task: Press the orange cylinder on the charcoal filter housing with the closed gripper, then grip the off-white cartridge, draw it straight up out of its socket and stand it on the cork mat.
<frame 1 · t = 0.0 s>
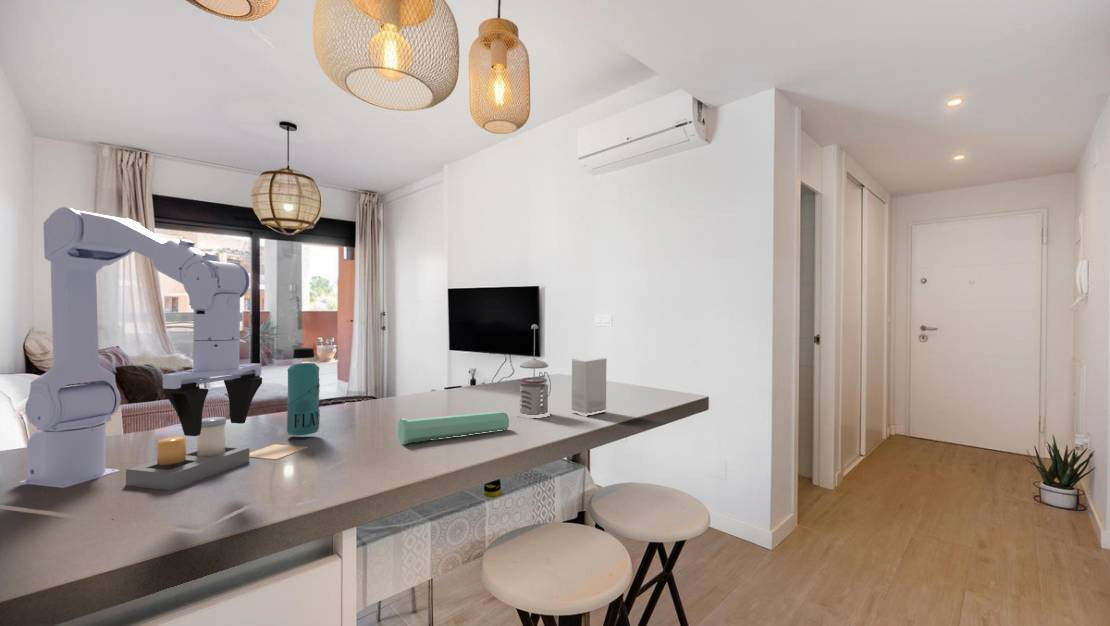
hand: (216, 428, 71), 10 cm above the table, tool pointing down, fingers open, 7 cm apart
cartridge: (211, 465, 83), resting on housing
orange cylinder: (171, 450, 76), point 5 cm above the table, slide at 0.0 cm
skincare box: (588, 414, 131), on the table
container: (457, 438, 106), on the table
beverage bottle: (303, 439, 102), on the table
housing: (192, 475, 79), on the table
french press: (535, 416, 128), on the table
mat: (275, 454, 91), on the table
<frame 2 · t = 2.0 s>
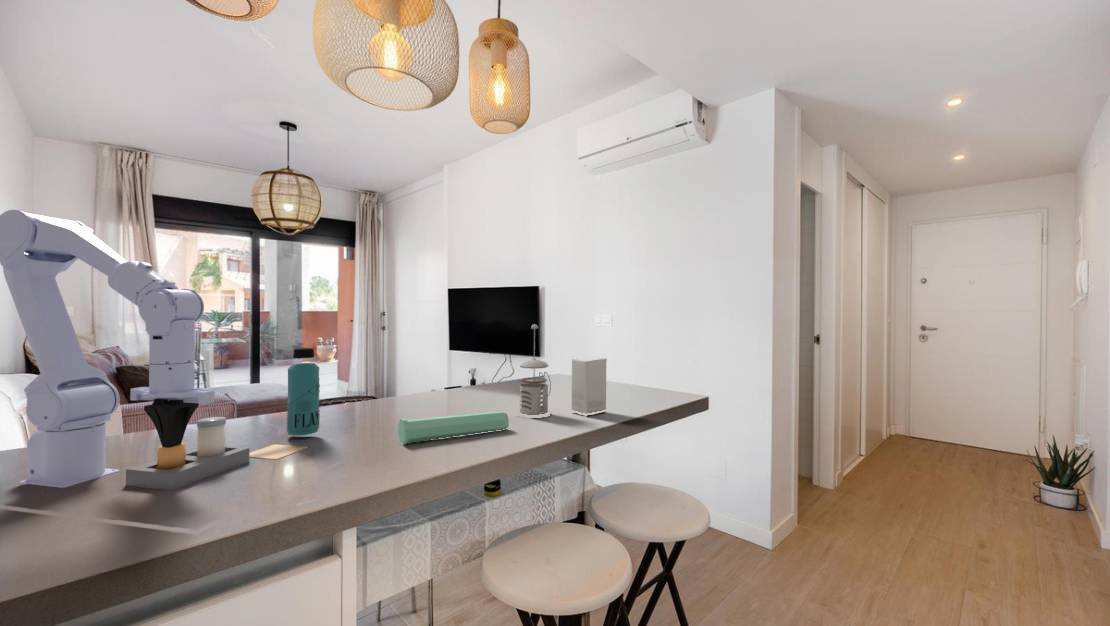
hand: (171, 446, 76), 6 cm above the table, tool pointing down, fingers closed, pressing on orange cylinder
orange cylinder: (171, 456, 76), point 4 cm above the table, slide at 1.0 cm, touching gripper
everything else where it was.
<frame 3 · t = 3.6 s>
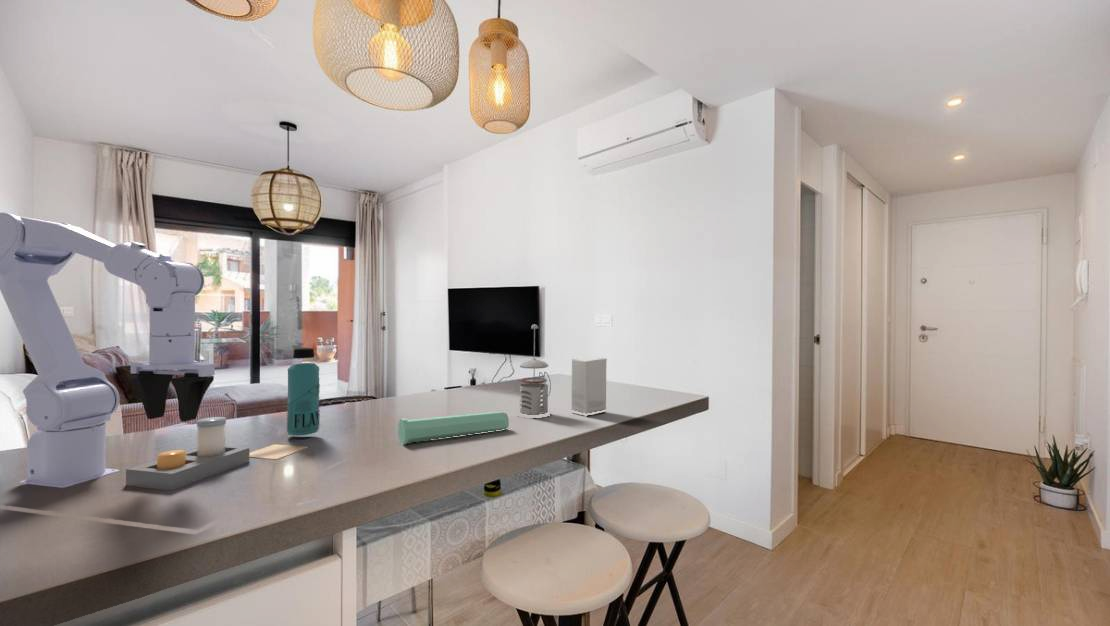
hand: (171, 418, 76), 10 cm above the table, tool pointing down, fingers open, 6 cm apart
orange cylinder: (171, 464, 76), point 3 cm above the table, slide at 2.2 cm
everything else where it was.
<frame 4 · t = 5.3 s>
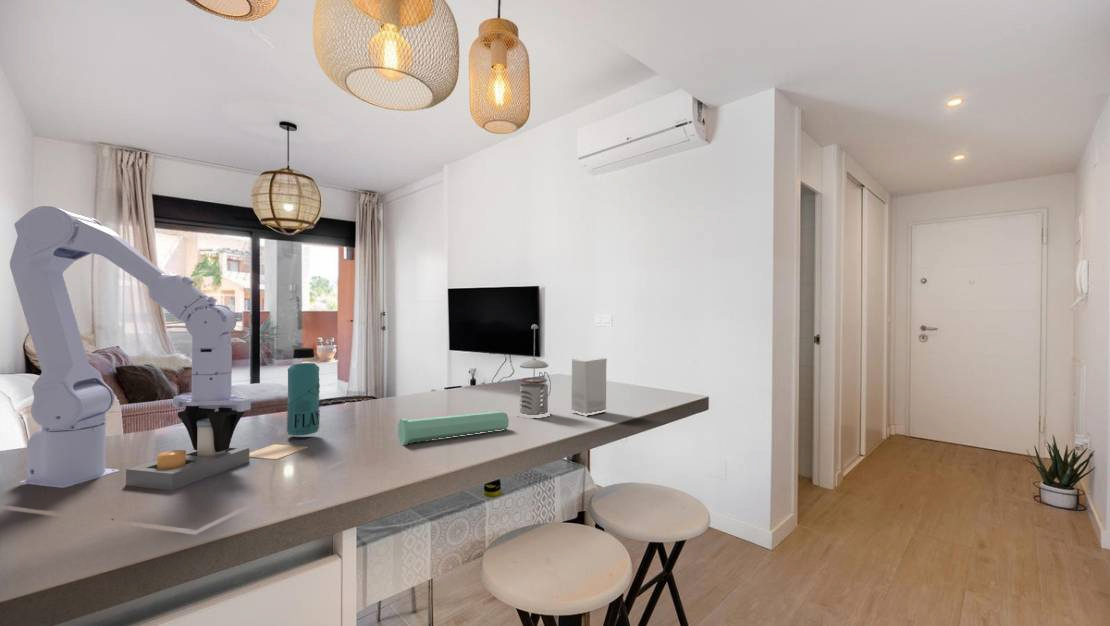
hand: (211, 449, 83), 3 cm above the table, tool pointing down, fingers closed on cartridge, 4 cm apart
cartridge: (211, 465, 83), resting on housing, touching gripper
everything else where it was.
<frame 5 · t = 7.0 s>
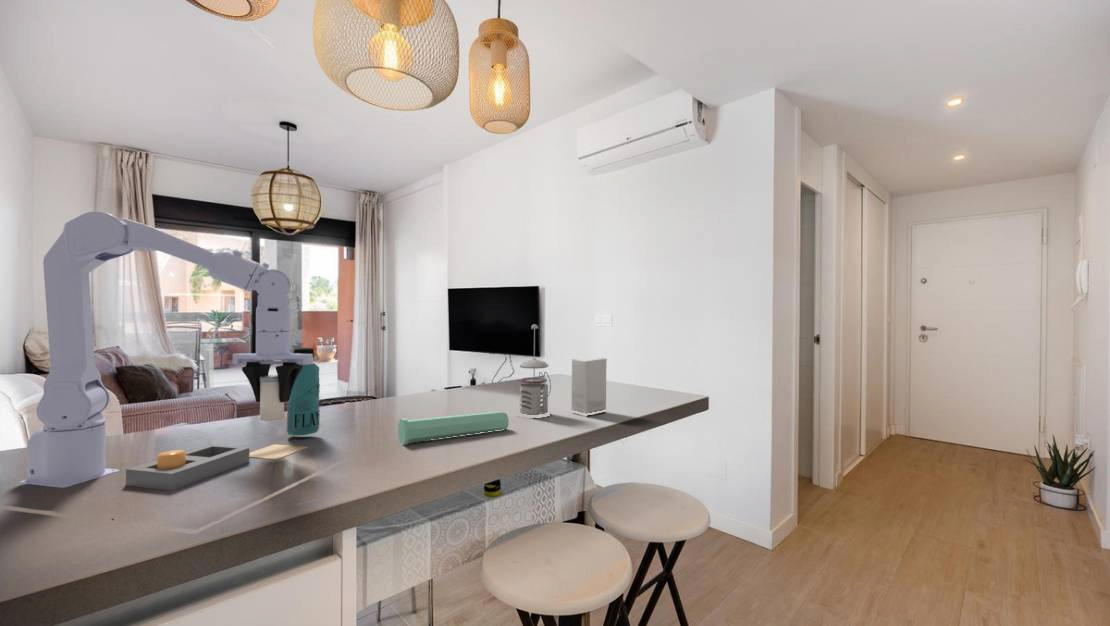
hand: (272, 401, 91), 10 cm above the table, tool pointing down, fingers closed on cartridge, 4 cm apart
cartridge: (272, 418, 90), point 7 cm above the table, touching gripper
everything else where it was.
when the fingers open (5 cm above the table, at t = 8.6 s): cartridge stays where it is, resting on mat.
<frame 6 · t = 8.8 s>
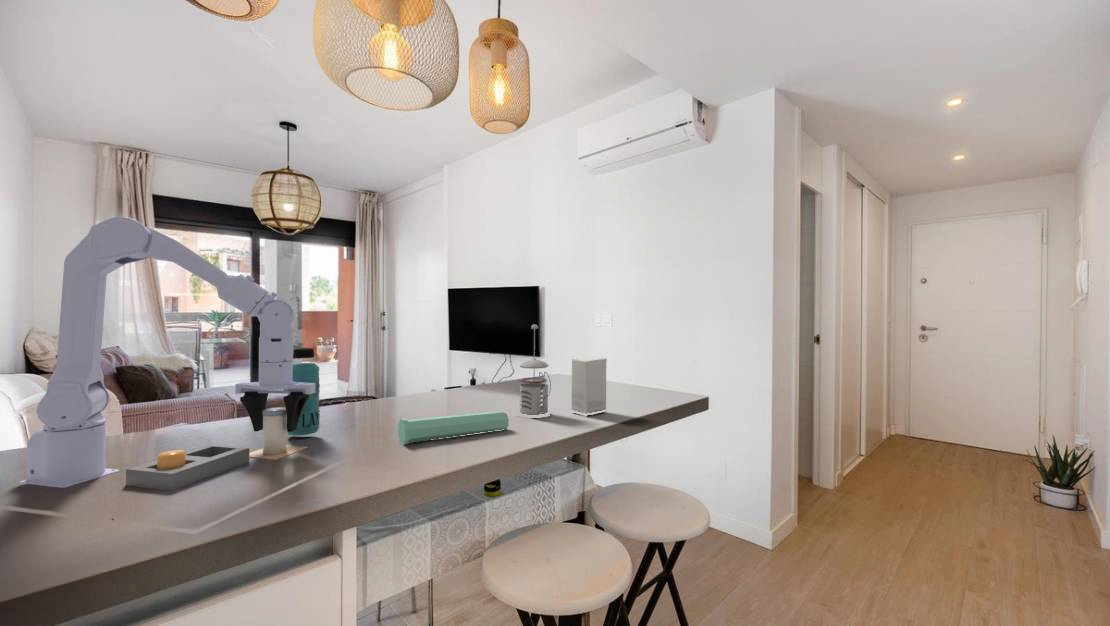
hand: (275, 430, 91), 5 cm above the table, tool pointing down, fingers open, 6 cm apart
cartridge: (274, 451, 91), point 1 cm above the table, touching mat
everything else where it was.
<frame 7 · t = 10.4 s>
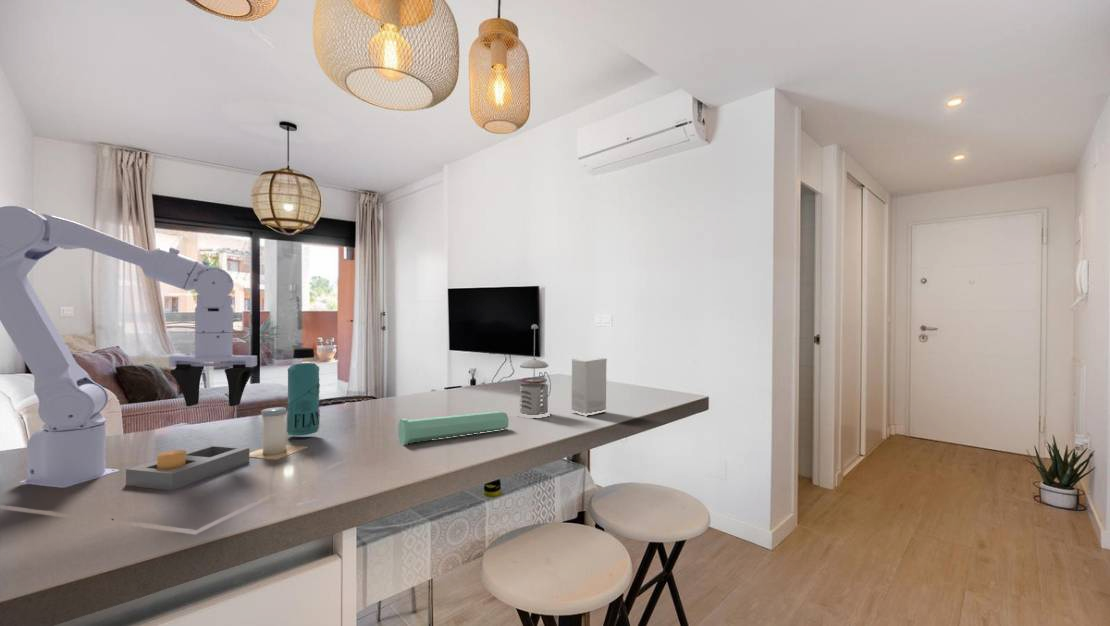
hand: (213, 405, 87), 10 cm above the table, tool pointing down, fingers open, 7 cm apart
nothing on the table moved.
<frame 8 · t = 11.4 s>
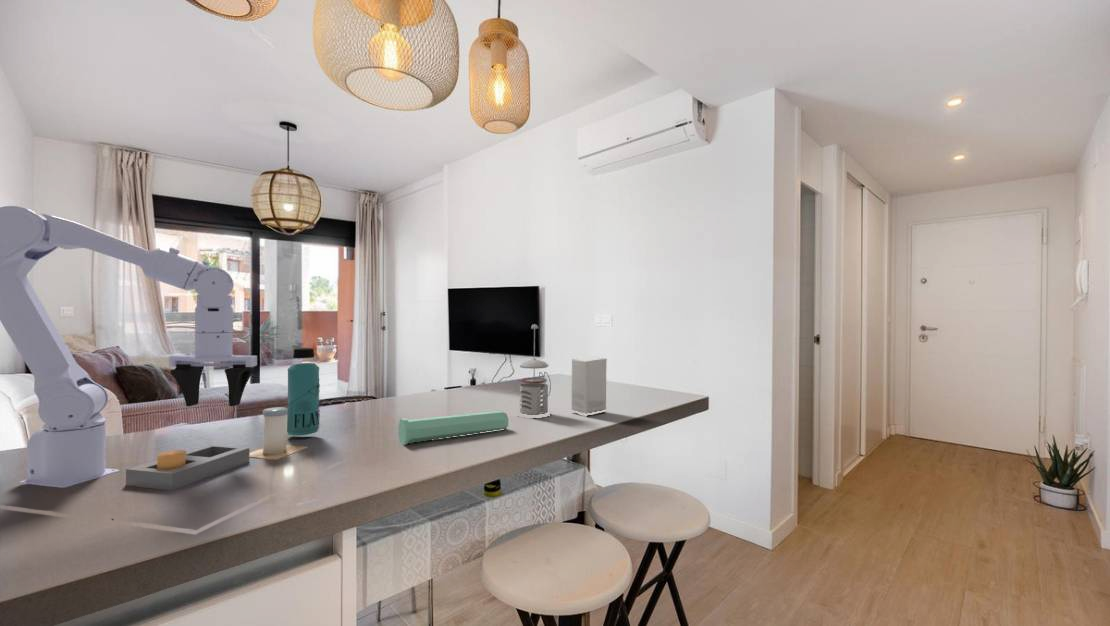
hand: (213, 405, 87), 10 cm above the table, tool pointing down, fingers open, 7 cm apart
nothing on the table moved.
at the end: orange cylinder slide at 2.2 cm; cartridge inside the target area on the mat (0.2 cm from its centre), point 0.6 cm above the mat's base; cartridge tilted 1° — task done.
